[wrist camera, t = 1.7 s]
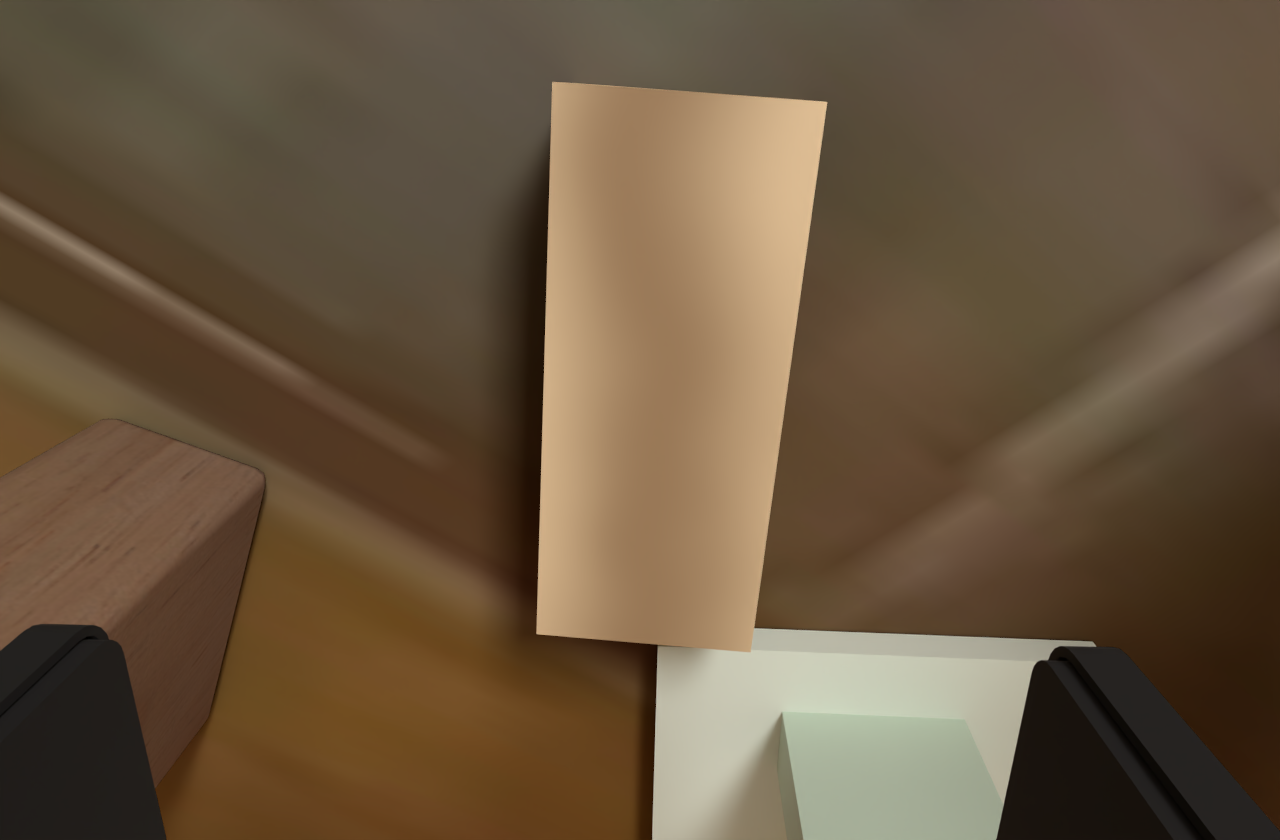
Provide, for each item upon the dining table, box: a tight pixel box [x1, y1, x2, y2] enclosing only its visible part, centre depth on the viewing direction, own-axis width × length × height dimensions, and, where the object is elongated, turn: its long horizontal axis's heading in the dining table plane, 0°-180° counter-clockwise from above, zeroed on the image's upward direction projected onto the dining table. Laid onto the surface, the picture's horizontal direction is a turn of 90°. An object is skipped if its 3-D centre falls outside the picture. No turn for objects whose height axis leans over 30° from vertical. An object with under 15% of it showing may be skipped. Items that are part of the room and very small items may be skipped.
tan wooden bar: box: [536, 82, 827, 652], centre depth 20 cm, size 5×12×4 cm, turn 176°
